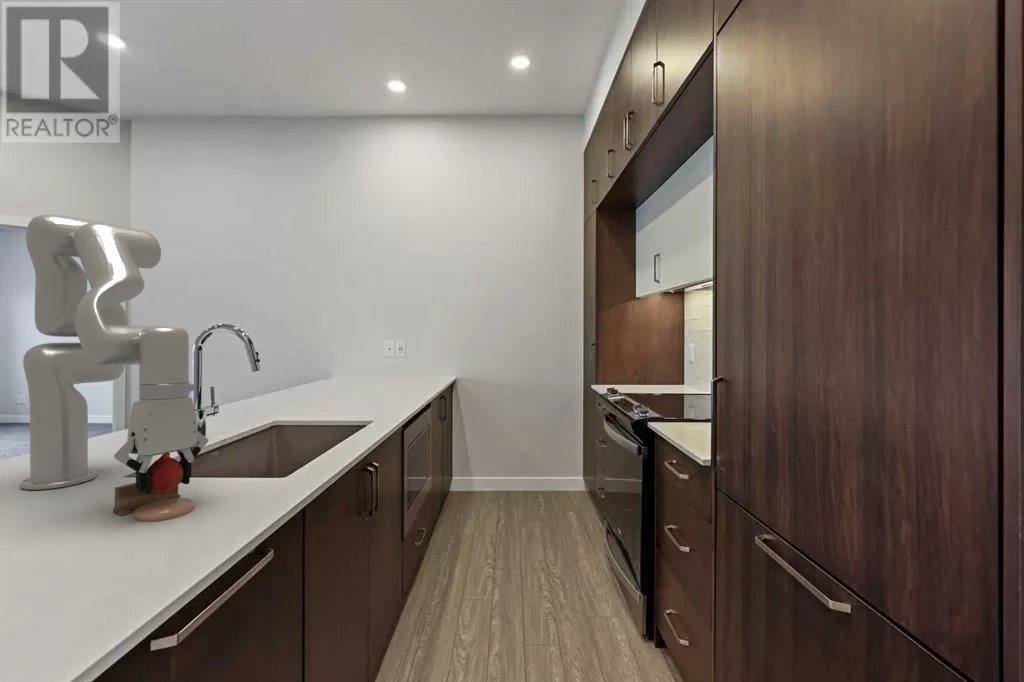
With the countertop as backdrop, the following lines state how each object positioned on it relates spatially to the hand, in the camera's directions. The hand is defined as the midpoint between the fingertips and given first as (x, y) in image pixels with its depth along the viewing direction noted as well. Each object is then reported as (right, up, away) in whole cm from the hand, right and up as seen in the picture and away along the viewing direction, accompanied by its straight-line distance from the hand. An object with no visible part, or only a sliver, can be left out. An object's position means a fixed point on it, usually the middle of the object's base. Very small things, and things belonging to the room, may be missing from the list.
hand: (164, 486), depth 90 cm
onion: (0, -2, 0) cm, 2 cm away
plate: (0, -5, 0) cm, 5 cm away
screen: (-6, -5, +3) cm, 8 cm away
